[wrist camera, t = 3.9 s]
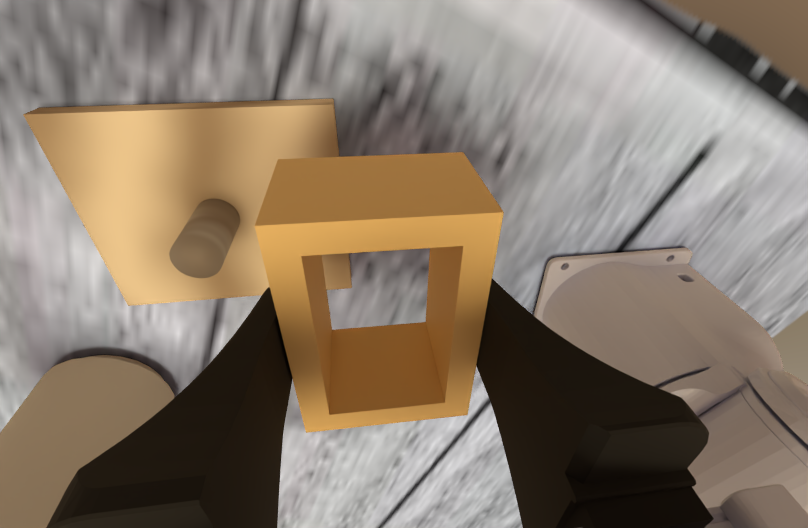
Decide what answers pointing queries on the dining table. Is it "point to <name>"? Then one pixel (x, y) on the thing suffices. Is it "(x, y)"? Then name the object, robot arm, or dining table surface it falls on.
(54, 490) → the can
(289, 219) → the link
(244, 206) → the wooden block with peg
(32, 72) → the dining table surface
